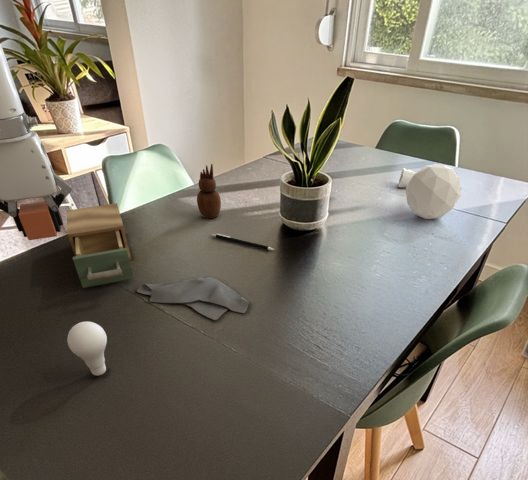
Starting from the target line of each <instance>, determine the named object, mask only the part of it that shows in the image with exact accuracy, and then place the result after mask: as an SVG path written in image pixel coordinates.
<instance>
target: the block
mask: <svg viewBox="0 0 528 480" xmlns="http://www.w3.org/2000/svg"><path fill="white" fill-rule="evenodd" d="M18 209H19V214H18V216H19V218H20V221H21V223H22V225H23V228H24V230H25V233H26V235H27V237H26V238H27V240H28V241H34V240H41V239H46V238H54V237H57V236H58V232H56V229H55V226H54V224H53V221H52V218H51V215H50V207H49V205H48V204H47V202H46V201H45V200H44V201H36V202H29V203H22V204H20V205H19V208H18Z"/></svg>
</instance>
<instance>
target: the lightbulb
mask: <svg viewBox="0 0 528 480" xmlns="http://www.w3.org/2000/svg"><path fill="white" fill-rule="evenodd" d="M107 337H108V336H107V333H106V331H105V330H104V328H103V327H102V326H101V325H100V324H98V323H96V322H93V321H81V322H78V323H76V324H75V325H73V326H72V327H71V328H70V330H69V331H68V334H67V340H66V342H67V346H68V348H69V349H70V351H71V353H73V354H74V355H76V356H77V357H78V358H80V359H82V360H83V362H84V363H85V365H86V367H88V369H89V370H90V373H91V374H92V375H93V376H98V377H99V376H102V375H104V374H105V373H106V371H107V367H106V363H105V362H106V358H105V350H106V346H107V343H108V338H107Z"/></svg>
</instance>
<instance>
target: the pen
mask: <svg viewBox="0 0 528 480" xmlns="http://www.w3.org/2000/svg"><path fill="white" fill-rule="evenodd" d="M211 236H212V237H214V238H216V239H220V240H224V241H228V242H229V241H230V242H231V243H233V242H234V243H237V244H241V245H246V246H250V247H254V248H258V249H262V250H266V251H275V248H273V247H271V246H268V245H264V244H261V243H255V242H251V241H247V240H243V239H238V238H234V237H231V236H230V235H225V234H222V233H221V234H220V233H215V234H214V233H212V234H211Z"/></svg>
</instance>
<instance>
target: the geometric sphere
mask: <svg viewBox="0 0 528 480" xmlns="http://www.w3.org/2000/svg"><path fill="white" fill-rule="evenodd" d="M416 172H417V173H415V174H414V175H413V177H412V179H411V180H410V182H409V184H408V186H407V187H405V195H406V203H407V205H408V208H409V209H410V211H411V213H412V214H413V215H415V216H417V217H420V218H422V219H423V220H434V219H440V218H443V217H444V216H446V215H447V214H448V213H449V212H451V211H452V210H453V209H454V207H455V206H456V204H457V203H458V201H459V200H460V198H461V196H462V191H461V190H462V189H461V188H462V187H461V180H460V177H459V175H458V173H457V172H456V170H455V169H454V168H452V167H450V166H448V165H445V164H443V163H440V162H439V163H434V164H428V165H424V166H422V167H421V168H420V169H419V170H417V171H416Z"/></svg>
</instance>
